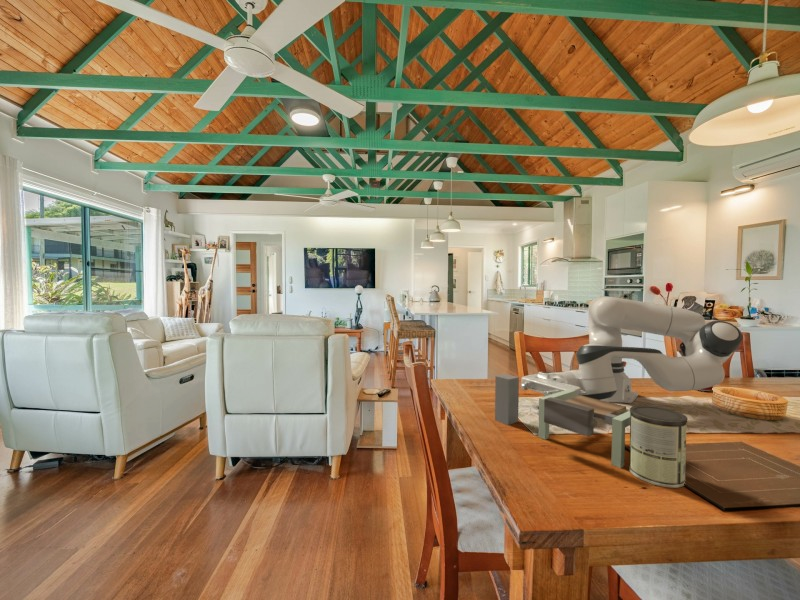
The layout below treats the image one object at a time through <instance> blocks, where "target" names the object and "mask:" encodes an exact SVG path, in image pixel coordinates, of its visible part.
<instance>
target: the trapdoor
mask: <svg viewBox="0 0 800 600" xmlns="http://www.w3.org/2000/svg"><path fill="white" fill-rule="evenodd" d="M624 412H627V406H626V405H622V404H617V403H615V402H606V401H602V400H598V399H593V398H589V397H585V396H581V395H580V396H577V397H574V398H571V399H568V400H565V401H564V400H560V399H556V398H552V397H550V398H546V399H544V422H545V423H548V424H549V425H550V426H551V425H552V426H555V427H558V428H560V429H564V430H565V431H566V430H567V431H569V432H572V433H575V434H578V435H582V436H584V437H589V436H591V435H593V434H594V433H595V431H594V430H595V429H594V428H595V419H599V420H602V421H605V415H606V414H608V413H609V414H613V415H617V416H618V415H620V414H622V413H624Z"/></svg>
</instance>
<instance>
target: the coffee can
mask: <svg viewBox="0 0 800 600" xmlns="http://www.w3.org/2000/svg"><path fill="white" fill-rule="evenodd" d="M629 411H630V425H629V468H628V470H629V472H630V473H631V474H632V475H633V476H634V477H635V478H637V479H639V480H641V481H643V482H645V483H648V484H650V485H653V486H658V487H662V488H671V489H672V488H673V489H676V488H682V487H684V486H685V485H684V483H685V481H686V462H687V460H686V458H687V457H686V456H687V423H688V416H686V415H685V414H683V413H681V412H679V411H676V410H673V409H670V408H665V407H660V406H653V405H634V406H630V407H629ZM685 484H686V483H685Z"/></svg>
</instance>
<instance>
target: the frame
mask: <svg viewBox="0 0 800 600" xmlns="http://www.w3.org/2000/svg"><path fill="white" fill-rule="evenodd" d="M550 397H552V398H556V399H560V400H564V401H565V400H568V399H571V398H574V397H576V391H575V390H571V389H568V390H565V391H561V392H558V393H555V394H551V395H548V396H542V397H538V434H537V435H538V437H537V438H539V439H541V440H542V439H543V440H545V441H546V440H547V439H550V424H548V423H545V422H544V399H546V398H550ZM604 424H606V425H609V426H611V457H610V458H611V459H610V462H611V466H613V467H616V468H619V469H621V468H623V467H624V466H625V456H626V455H625V453H626V452H625V450H626V428H627V427H630V410H628V411H624V412H622V413H620V414H617V415H613V414H609V413H608V414H606V415H605V420H604Z"/></svg>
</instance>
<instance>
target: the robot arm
mask: <svg viewBox="0 0 800 600" xmlns="http://www.w3.org/2000/svg"><path fill="white" fill-rule="evenodd" d="M587 309H588V313H587V314H588V339H589V340H588V343H587V344H584V345H581V346H580V347H579V349H578V350H577V351H576V353H575V357H576V360H577V363H578V366H579V369H571V370H568V371H560V372H558V371H557V372H556V371H555V372H549V371H538V373H534V374H528V375H524V376H522V377H521V378H520V379H521V383H520V389H521V390H523V391H527V390H531V391H532V392H533V391H534V392H536V393H539V394H540V393H541V394H543V397H545V396H548V395H551V394H555V393H558V392H561V391H565V390H568V389H571V390H575V391H576V397H577V396H580V395H581V396H585V397H589V398H593V399H598V400H602V401H606V402H610V403H623V404H624V403H626V404H632V403H633V402H634V401H635V400H636V399H637V398H638V396H639V392H637V391H635V390H632V380H631V378H630V377H629V376H628V375H626V373H625V368H626V367H627V366H626V365H627V362H626V361H623V359H627V360H628V359H629V360H630V359H631V360H634V361H637V363H639V364H640V365H641V366H642V367H643V369H645V371H646V373H647V374H648V375H649V377H650V379H651V380H652V381H653V382H654V383H655V384H656V385H658V386H659V387H660V388H661V389H664V390H666V391H669V392H688V391H689V392H690V391H697V390H698V389H704V388H708V387H712V386H713V387H714V386H718V385H720V384H721V383H723V381H724V380H725V375H726V371H725V368H724V367H723V364H724V363H726V362H727V361H728V360H729V359H730V357H731V356H732V355H733V353H735V351H737V350H738V349H739V347H740V346H741V344H742V342H743V333H742V331H741V330H740V329H739V328H738V327H737V326H736V325H734V324H733V323H730V322H727V321H724V320H713V321H709V322H707V323H706V320H705V317H704V316H703V315H702V314H701V313H699V312H697V311H693V310H689V309H686V308H681V307H677V306H671V305H666V304H659V303H654V302H653V303H652V302H645V301H639V300H633V299H628V298H627V299H626V298H621V297H615V296H607V295H602V296H598V297H595V298H594V299H593V300H591V301H590V303H589V305H588V307H587ZM622 330H627V331H628V330H629V331H635V332H642V333H647V334H654V335H658V336H664V337H670V338H675V339H678V340H679V341H681V343H680V344H679V350H680V351H681V356H670V355H666V354H664V353H663V352H662V351H661V350H659V349H656V348H650V347H638V346H637V347H635V346H633V347H632V346H623V338H622Z"/></svg>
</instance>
